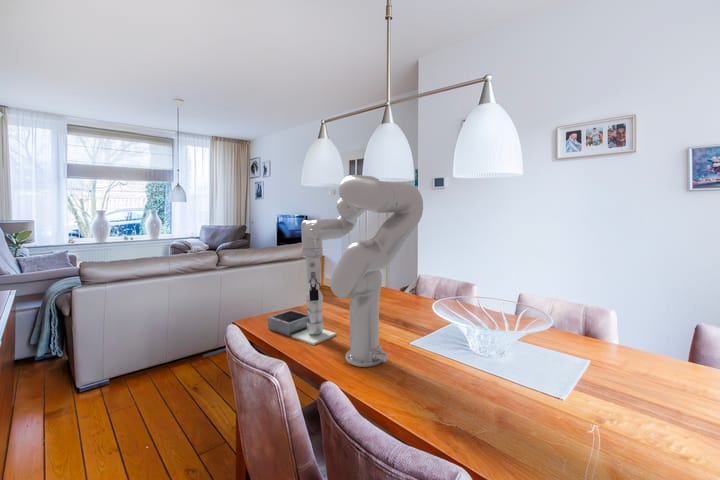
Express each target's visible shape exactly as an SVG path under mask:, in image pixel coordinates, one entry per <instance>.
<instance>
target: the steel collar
mask: <svg viewBox="0 0 720 480" xmlns="http://www.w3.org/2000/svg"><path fill="white" fill-rule="evenodd" d="M307 319H308V313H304V312H300V311H296V310H294V309H290V310H286V311H283V312H282V311H281V312H279V313H277V314H273V315H270V316H267V330H270V331H273V332H276V333H278V334H281V335H284V336H286V337H289V338H290V337H292V335H294V334H296V333H299V332H302V331H304V330H307V328H306V327H307Z"/></svg>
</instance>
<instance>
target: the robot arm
mask: <svg viewBox="0 0 720 480" xmlns="http://www.w3.org/2000/svg"><path fill="white" fill-rule="evenodd" d="M338 195H339V197H340V198H338V200H337V202H336V209H337V212H338V215H339V216H338V217H336V218H319V219H305V220H302V222H301V224H300V227H301V228H300V229H301V251H302V258H305V263H306V264H305V265H306V278H307V283H308V284H310V289H309V290H308V292H309V293H310V301H318V300H319V295H318V289H317V282H318V283H319V284H321V283H322V264H321V258H322V257H324V256H323V253H324V251H323V241H328V240H336V239H337V240H338V239H341V238H344V237H345V236H347V235H348V234H349V233H351V231H352V230H354V229H355V228H356V225H357V223H358V218H359V217H360V216H361V215H363V214H364V213H365V212H366V211H369V212H372V213H378V214H382V213H383V214H384V213H385V214H387V213H392V215H390V216H389V217H388V218H387V219H386V220H385V221H384V222H383V223H382V224H381V226H380V227H379V229H378V230H377V232H376V233H375V234H374V236H373V237H372V238H369V239H365V240H358V241H355V242H353V243H351V244H350V245H348V246H347V248H346V249H345V251H344V252H343V253H342V255H341V257H340V259H339V260H338V262H337V264H336V266H335V268H334V269H333V271H332V274H331V277H330V282H329V283H330V289H331V291H332V293H333V295H334V296H335V297H337V298H339V299H349V298H350V303H349V350H348V351H347V352H346V353H345V360H346V362H347V363H348V364H350V365H352V366H354V367H355V366H356V367H359V368H362V367H363V368H366V367H368V368H370V367H374V366H377V365H379V364H381V363H382V362H384V363H386V362H387V361H388V357H389V353H388V352H385V351H383V350H382V345H380V327H379V325H380V318H379V317H380V295H381V289H382V285H383V284H382V283H383V276H382V272H381V271H382V270H385V269H387V268H388V267H389V266H390V265H391V264H392V263H393V261H394V259H395V258H396V257H397V255H398V254H399V252H400V250H401V249H402V248H403V246H404V245H405V243H406V241H407V240H408V239H409V237H411V235H412V234H413V232H414V231H415V229H416V228H417V227H418V225H419V223H420V221H421V218H422V216H423V212H424V200H423V197H422V194H421V192H420V191H419V189H418V188H417V187H416V186H415V185H412V184H410V183H407V182H400V181H383V180H379V179H378V178H377V177H375V176H372V175H371V176H370V175H363V174H362V175H361V174H350V175H347V176H345V177H344V178H343V179H342V180H341V182H340V184H339V187H338Z"/></svg>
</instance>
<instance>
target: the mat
mask: <svg viewBox="0 0 720 480" xmlns="http://www.w3.org/2000/svg"><path fill="white" fill-rule="evenodd" d="M335 336H337V332H334V331H331V330H328V329H325V328H324V330H323V332H322V333H321V334H318V335H311V334H309V333H308V332H307V330H304V331H302V332H299V333H296V334H294V335H292V336H291V339H292V338H293V339H296V340H299V341H301V342H304V343H307V344H309V345H312V346H315V345H317V344H319V343H322V342H324V341H326V340H328V339H331V338H332V337H335Z"/></svg>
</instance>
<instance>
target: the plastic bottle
mask: <svg viewBox="0 0 720 480" xmlns="http://www.w3.org/2000/svg"><path fill="white" fill-rule="evenodd" d="M308 284H309V283H308ZM308 287H309V290H310V284H309V286H308ZM320 288H321V287H320V283H319V282H317V289H318V295H319V300H318V301H310V293H309V291H308V292H307V293H306V295H305V301H306V310H307V314H308V319H307V327H306V328H307V332H308V333H309V334H311V335H318V334H321V333H322V332H323V330H324V329H325V325H324V320H323V302H324V295H323V293H322V291H321V290H320Z"/></svg>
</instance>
